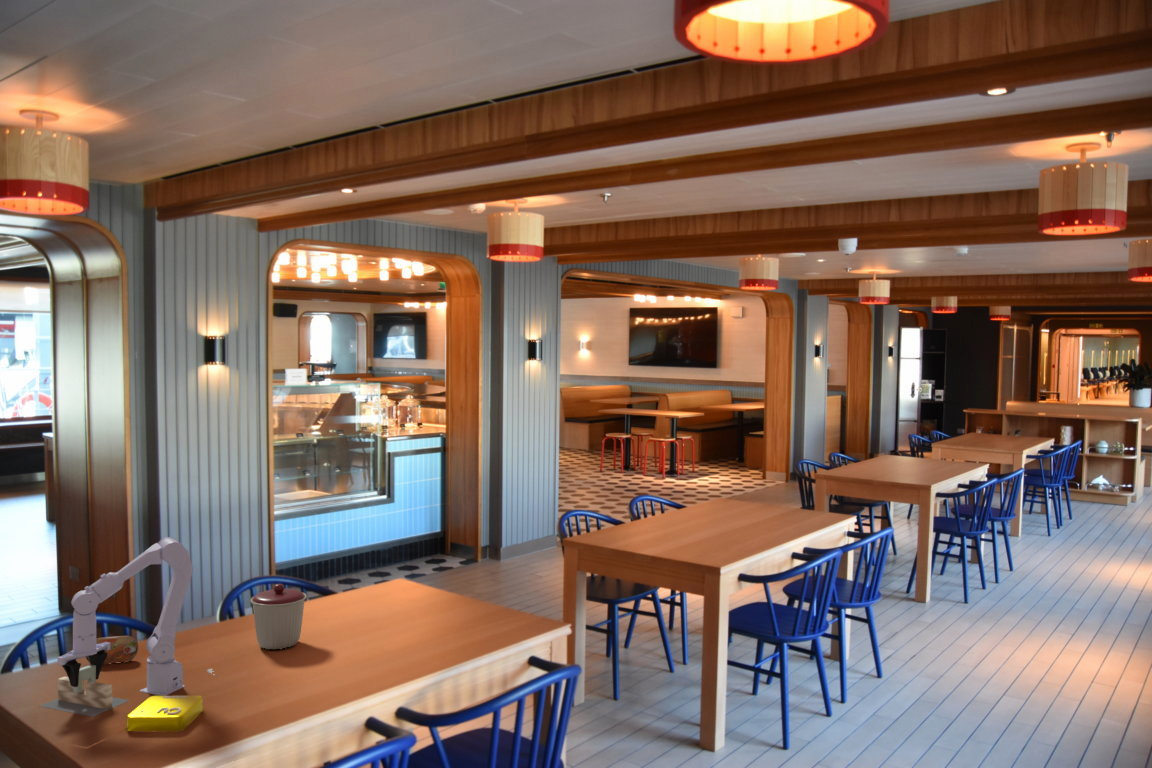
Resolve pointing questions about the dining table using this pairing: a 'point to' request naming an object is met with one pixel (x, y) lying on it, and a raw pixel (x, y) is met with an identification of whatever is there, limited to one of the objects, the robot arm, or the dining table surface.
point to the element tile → (165, 713)
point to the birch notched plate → (86, 693)
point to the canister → (278, 616)
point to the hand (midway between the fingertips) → (84, 682)
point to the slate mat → (81, 707)
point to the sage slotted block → (85, 676)
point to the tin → (119, 648)
